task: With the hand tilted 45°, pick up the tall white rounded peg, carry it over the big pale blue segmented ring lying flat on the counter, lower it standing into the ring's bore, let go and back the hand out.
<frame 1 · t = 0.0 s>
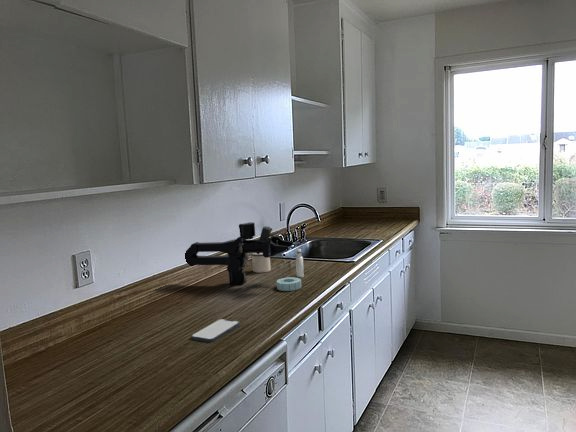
hand: (290, 245, 203), 17 cm above the worktop, tool horizontal, fingers open, 9 cm apart
teacup with lid: (259, 271, 233), on the worktop
pale blue segmented ring: (289, 287, 199), on the worktop
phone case: (216, 333, 153), on the worktop
white rounded peg: (300, 276, 216), on the worktop
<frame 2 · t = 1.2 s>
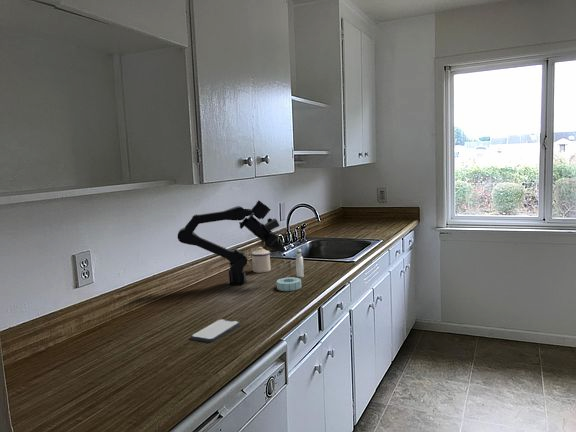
hand: (281, 249, 213), 13 cm above the worktop, tool tilted 45°, fingers open, 9 cm apart
nothing on the worktop moved.
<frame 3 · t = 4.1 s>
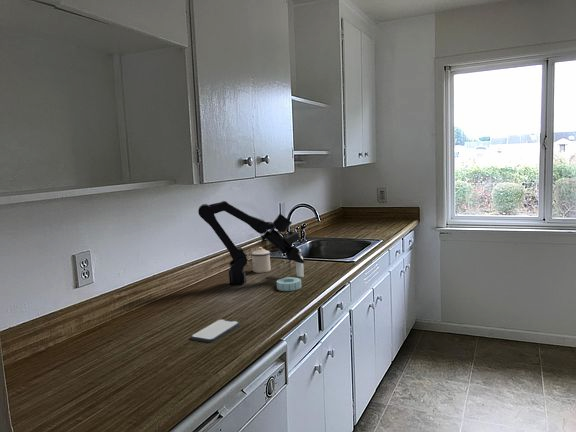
hand: (302, 261, 216), 7 cm above the worktop, tool tilted 45°, fingers closed on white rounded peg, 3 cm apart
white rounded peg: (300, 276, 216), on the worktop, touching gripper
everything else where it was.
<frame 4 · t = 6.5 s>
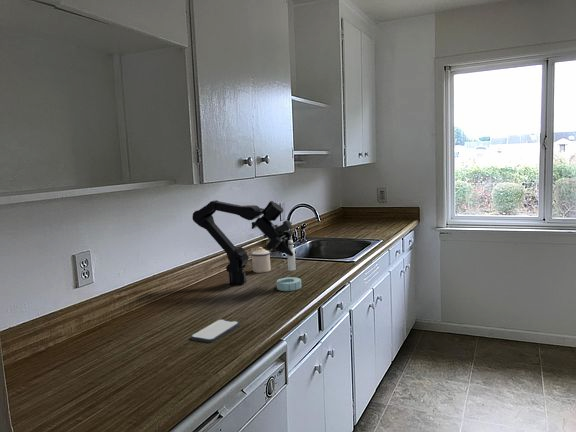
hand: (294, 254, 200), 14 cm above the worktop, tool tilted 45°, fingers closed on white rounded peg, 3 cm apart
white rounded peg: (292, 269, 201), point 7 cm above the worktop, touching gripper
everything else where it was.
when the fingers open (8 cm above the worktop, at t = 9.1 s): white rounded peg stays where it is, resting in pale blue segmented ring.
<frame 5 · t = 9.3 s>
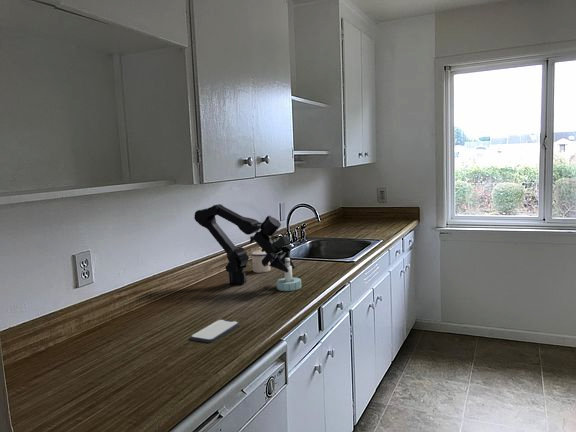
hand: (291, 270, 198), 8 cm above the worktop, tool tilted 45°, fingers open, 5 cm apart
white rounded peg: (289, 287, 199), resting in pale blue segmented ring
everything else where it was.
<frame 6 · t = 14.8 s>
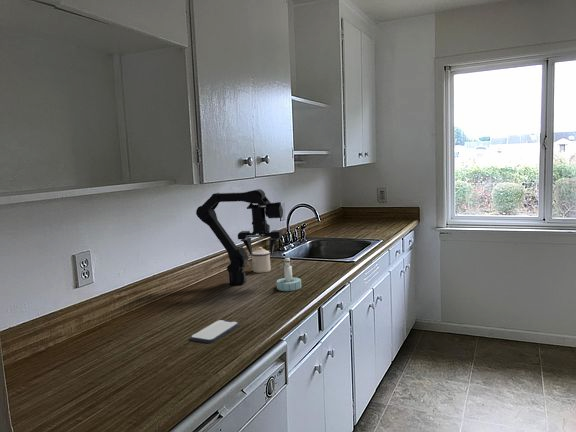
hand: (261, 254, 207), 13 cm above the worktop, tool pointing down, fingers open, 9 cm apart
nothing on the worktop moved.
at the end: white rounded peg 0.0 cm off-centre on the pale blue segmented ring, point 0.0 cm above the pale blue segmented ring's base; white rounded peg tilted 0°; the gripper is holding nothing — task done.
